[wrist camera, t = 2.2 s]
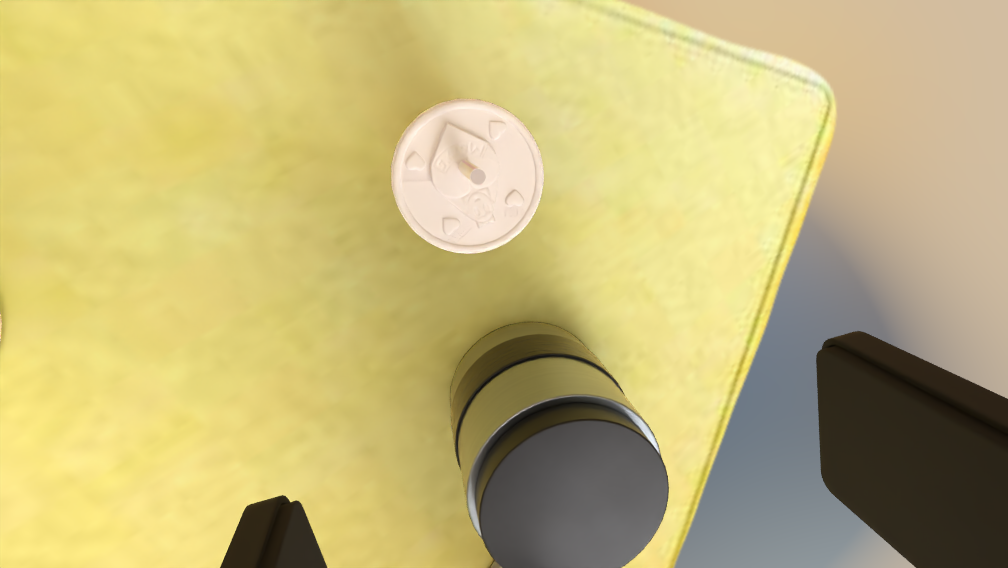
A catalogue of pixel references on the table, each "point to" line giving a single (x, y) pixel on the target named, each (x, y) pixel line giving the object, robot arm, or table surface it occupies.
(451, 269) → the table surface
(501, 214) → the smoothie
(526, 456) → the jar
